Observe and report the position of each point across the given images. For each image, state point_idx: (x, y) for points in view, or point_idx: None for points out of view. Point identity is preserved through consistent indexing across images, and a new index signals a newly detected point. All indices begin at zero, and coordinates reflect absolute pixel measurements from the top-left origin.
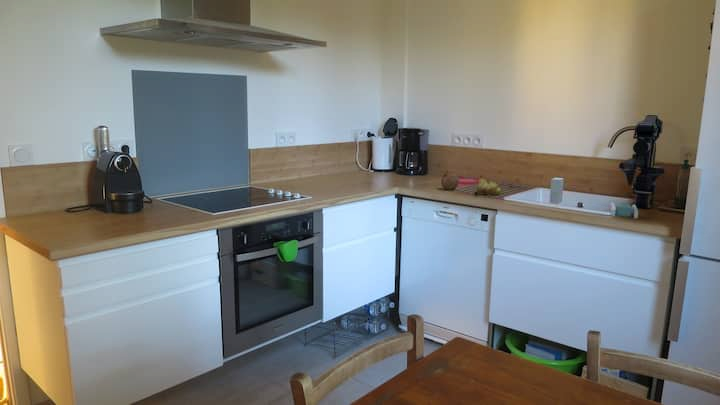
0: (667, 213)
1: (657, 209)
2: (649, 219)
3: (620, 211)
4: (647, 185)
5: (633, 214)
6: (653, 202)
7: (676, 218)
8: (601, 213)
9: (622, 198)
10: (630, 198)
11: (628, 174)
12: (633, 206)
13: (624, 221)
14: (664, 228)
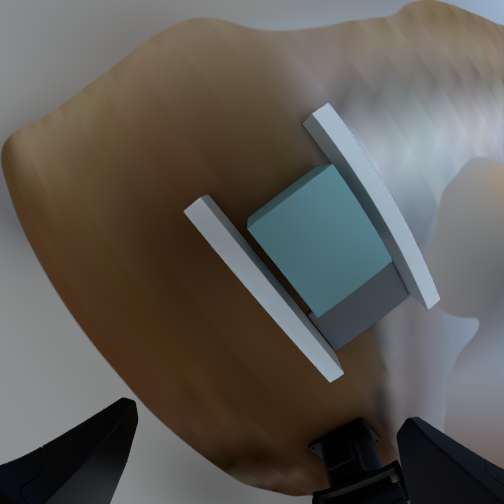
0: (213, 434)
1: (283, 454)
2: (145, 249)
3: (307, 176)
4: (93, 428)
5: (253, 252)
6: None
7: (126, 383)
8: (390, 130)
9: None
10: None
11: (496, 501)
12: (311, 339)
13: (180, 59)
14: (21, 140)
